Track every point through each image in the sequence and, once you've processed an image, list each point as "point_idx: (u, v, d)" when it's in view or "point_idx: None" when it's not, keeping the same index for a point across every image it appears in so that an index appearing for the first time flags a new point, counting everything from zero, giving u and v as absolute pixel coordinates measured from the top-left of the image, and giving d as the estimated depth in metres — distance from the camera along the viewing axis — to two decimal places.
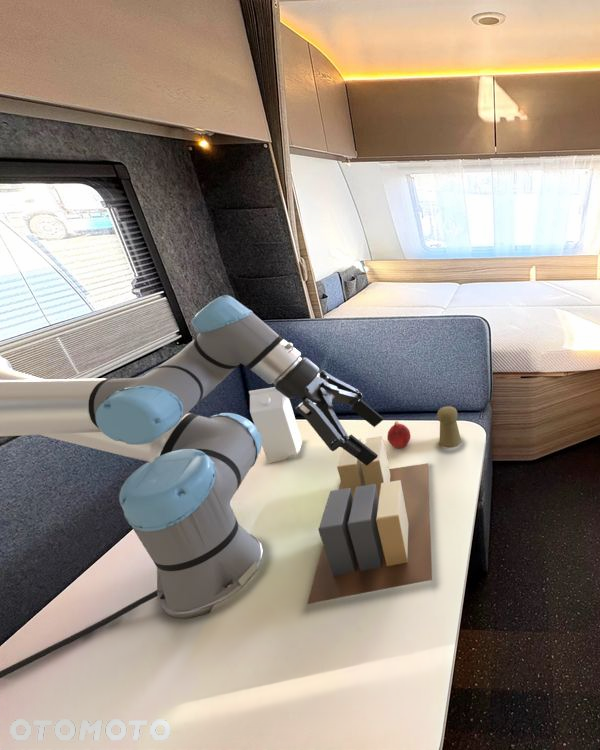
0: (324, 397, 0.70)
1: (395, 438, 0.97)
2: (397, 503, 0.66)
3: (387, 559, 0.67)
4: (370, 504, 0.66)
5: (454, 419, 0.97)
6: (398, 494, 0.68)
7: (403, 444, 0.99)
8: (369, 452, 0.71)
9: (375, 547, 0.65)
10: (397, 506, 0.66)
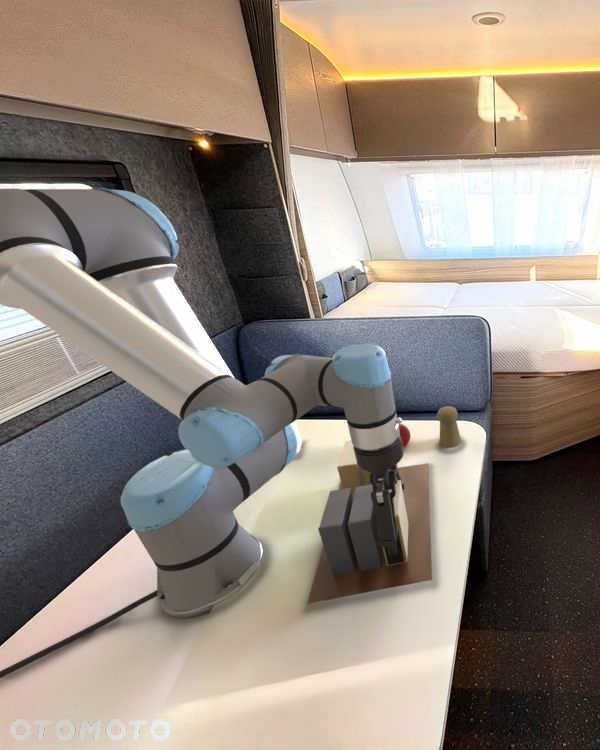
0: (394, 484, 0.64)
1: None
2: (397, 503, 0.66)
3: None
4: (370, 504, 0.66)
5: (454, 419, 0.97)
6: (398, 494, 0.68)
7: (403, 444, 0.99)
8: (401, 555, 0.66)
9: (375, 547, 0.65)
10: (397, 506, 0.66)
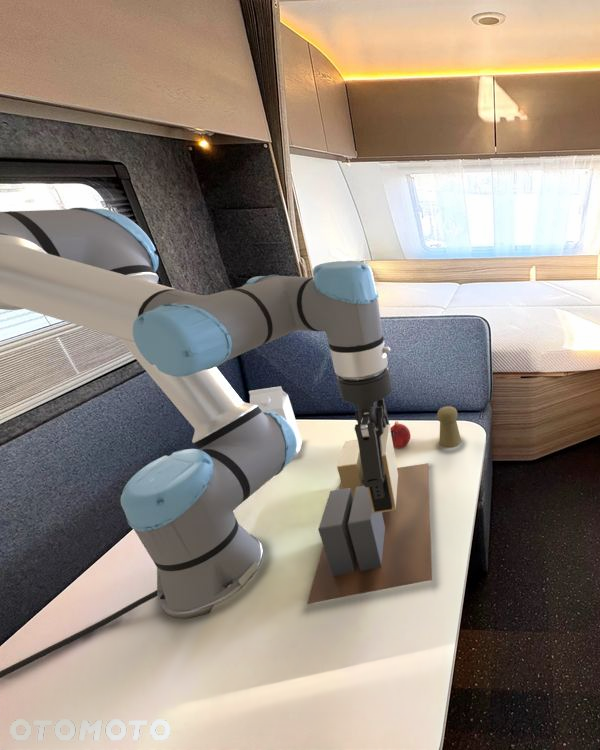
0: (381, 421, 0.58)
1: (395, 438, 0.97)
2: (385, 444, 0.61)
3: None
4: (370, 504, 0.66)
5: (454, 419, 0.97)
6: (386, 436, 0.63)
7: (403, 444, 0.99)
8: (389, 501, 0.61)
9: (375, 547, 0.65)
10: (385, 447, 0.61)
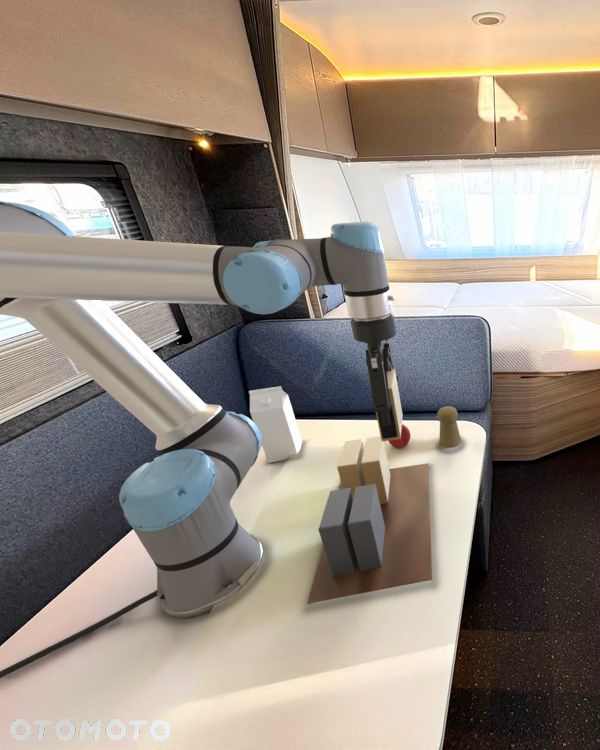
0: (387, 359, 0.70)
1: None
2: (391, 381, 0.72)
3: None
4: (370, 504, 0.66)
5: (454, 419, 0.97)
6: (392, 376, 0.74)
7: (403, 444, 0.99)
8: (394, 429, 0.72)
9: (375, 547, 0.65)
10: (391, 383, 0.72)
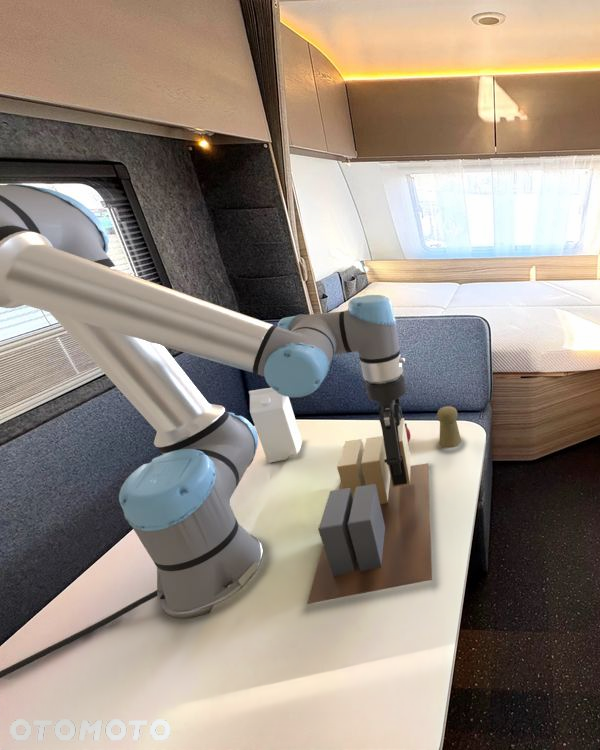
0: (398, 414, 0.76)
1: None
2: (401, 433, 0.79)
3: None
4: (370, 504, 0.66)
5: (454, 419, 0.97)
6: (402, 427, 0.81)
7: None
8: (404, 476, 0.79)
9: (375, 547, 0.65)
10: (401, 435, 0.78)
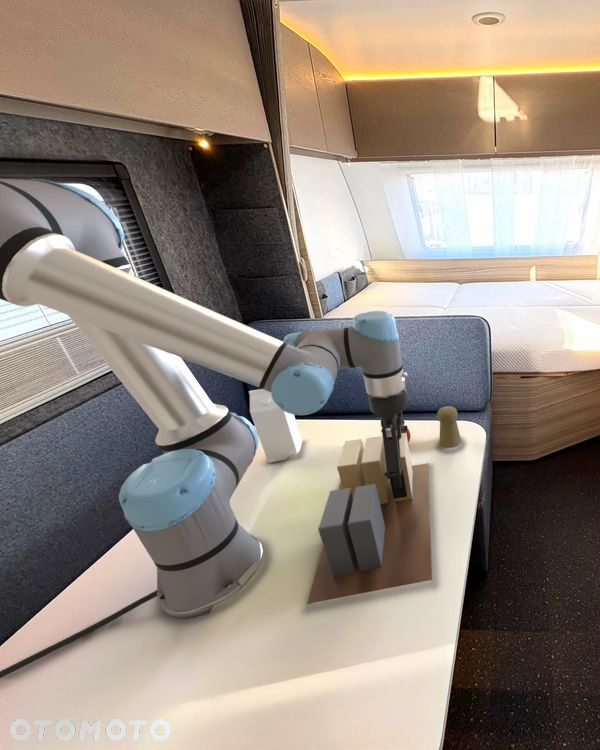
0: (400, 427, 0.77)
1: None
2: (404, 448, 0.81)
3: None
4: (370, 504, 0.66)
5: (454, 419, 0.97)
6: (404, 442, 0.83)
7: None
8: (404, 490, 0.78)
9: (375, 547, 0.65)
10: (404, 450, 0.80)
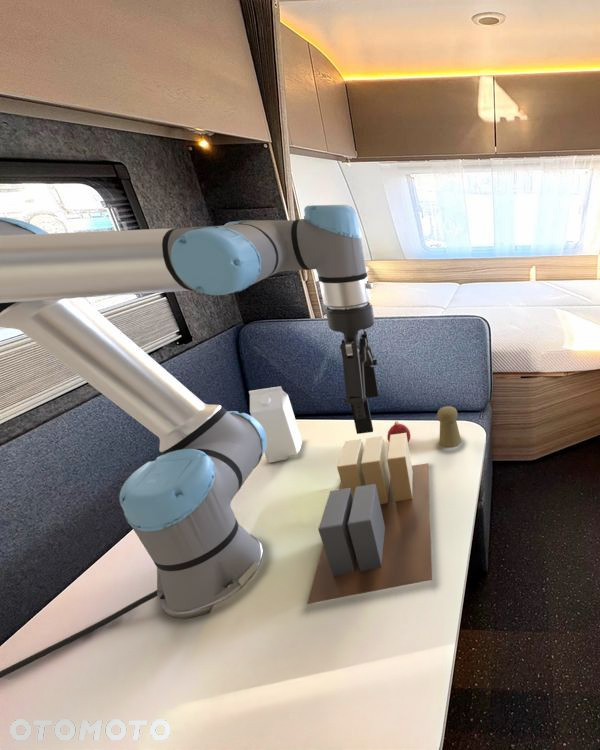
0: (364, 349, 0.66)
1: None
2: (404, 448, 0.81)
3: (395, 495, 0.81)
4: (370, 504, 0.66)
5: (454, 419, 0.97)
6: (404, 442, 0.83)
7: None
8: (370, 423, 0.67)
9: (375, 547, 0.65)
10: (404, 450, 0.80)
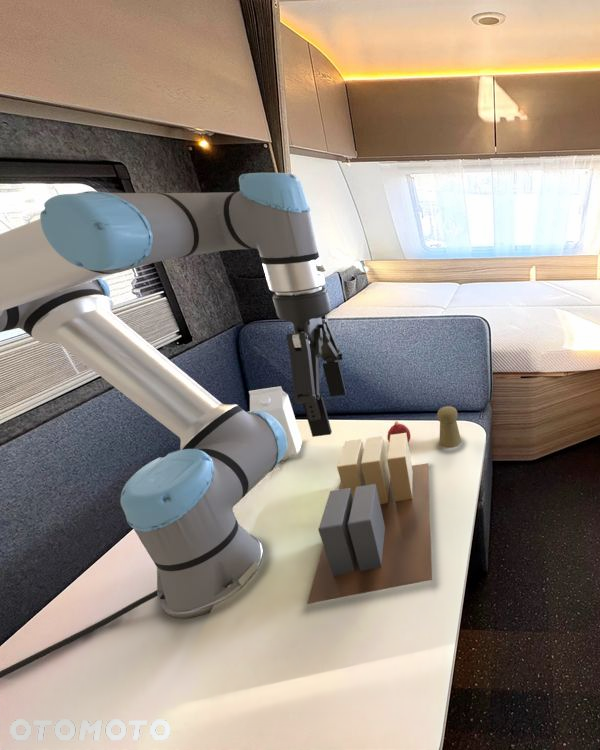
0: (319, 341, 0.58)
1: None
2: (404, 448, 0.81)
3: (395, 495, 0.81)
4: (370, 504, 0.66)
5: (454, 419, 0.97)
6: (404, 442, 0.83)
7: None
8: (326, 425, 0.59)
9: (375, 547, 0.65)
10: (404, 450, 0.80)
